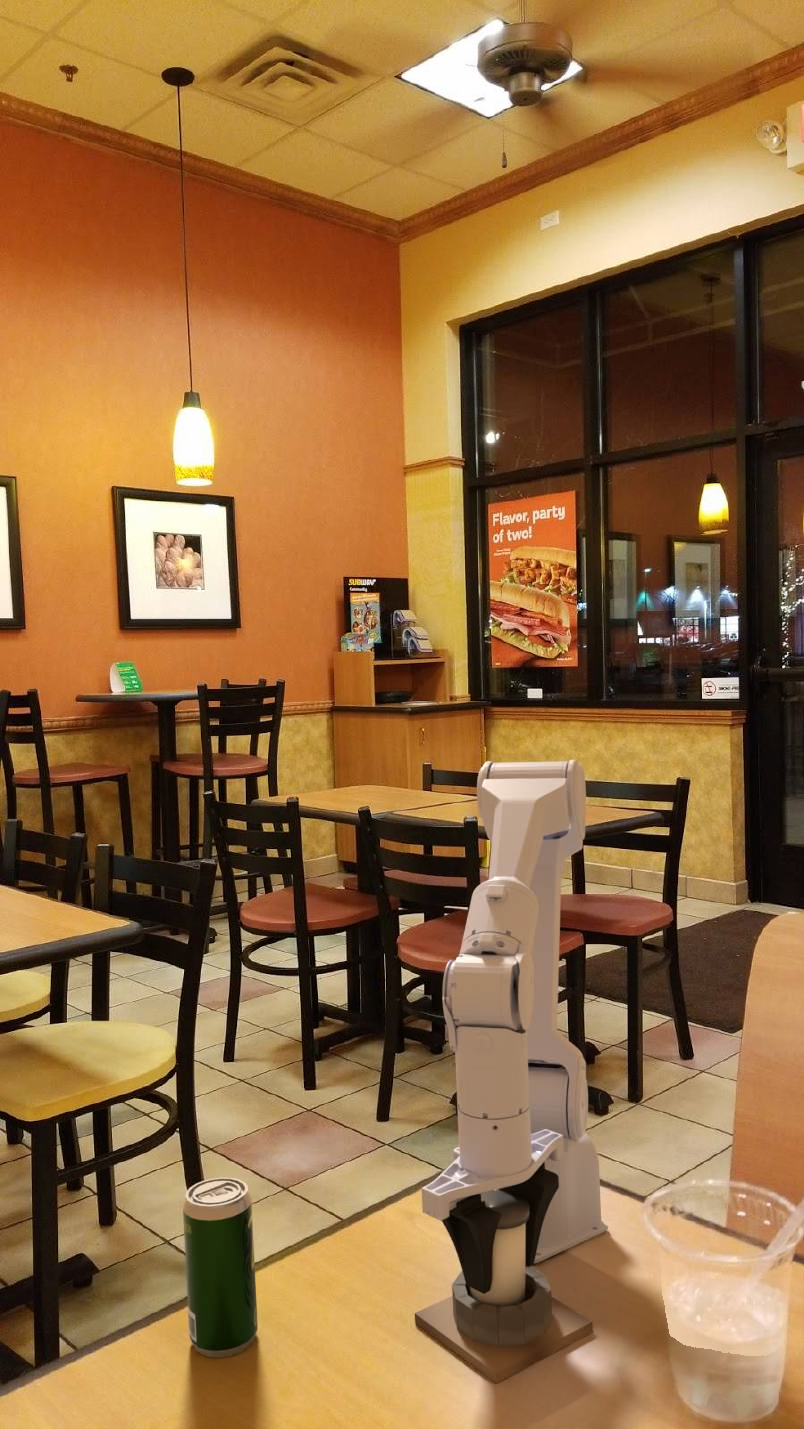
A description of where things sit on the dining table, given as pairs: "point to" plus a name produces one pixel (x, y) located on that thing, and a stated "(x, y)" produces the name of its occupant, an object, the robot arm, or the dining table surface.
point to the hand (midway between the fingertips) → (500, 1274)
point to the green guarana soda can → (220, 1267)
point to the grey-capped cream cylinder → (506, 1250)
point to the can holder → (504, 1327)
